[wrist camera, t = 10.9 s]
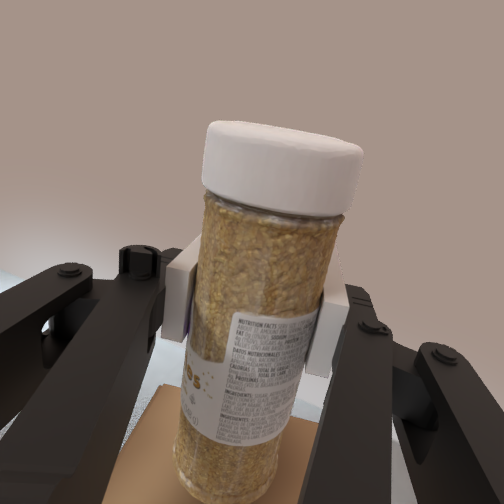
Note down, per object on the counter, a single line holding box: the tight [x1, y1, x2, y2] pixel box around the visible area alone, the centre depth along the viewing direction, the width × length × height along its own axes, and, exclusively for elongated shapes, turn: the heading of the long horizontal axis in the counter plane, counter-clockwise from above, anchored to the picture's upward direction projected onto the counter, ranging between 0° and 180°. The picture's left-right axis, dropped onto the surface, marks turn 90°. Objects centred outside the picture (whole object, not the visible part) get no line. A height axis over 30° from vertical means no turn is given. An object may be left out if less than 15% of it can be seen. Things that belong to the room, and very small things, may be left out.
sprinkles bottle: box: [172, 120, 364, 504], centre depth 12 cm, size 5×5×13 cm
